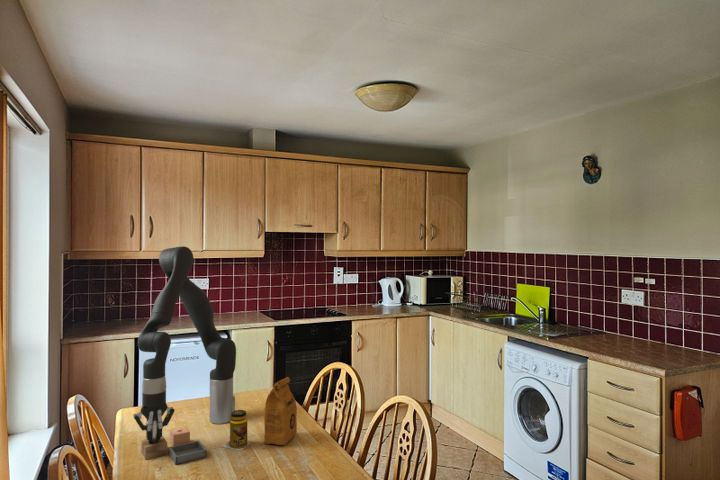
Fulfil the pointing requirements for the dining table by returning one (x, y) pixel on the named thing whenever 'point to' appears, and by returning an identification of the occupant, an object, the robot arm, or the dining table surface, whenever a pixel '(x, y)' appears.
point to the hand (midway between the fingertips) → (154, 439)
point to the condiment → (238, 431)
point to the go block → (153, 448)
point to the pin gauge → (154, 431)
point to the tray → (187, 452)
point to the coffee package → (280, 414)
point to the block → (179, 436)
